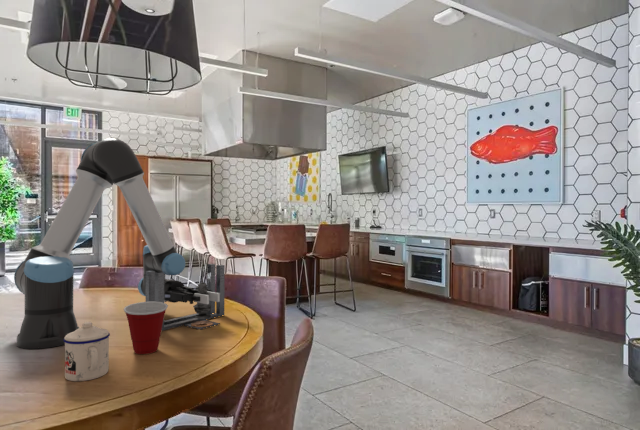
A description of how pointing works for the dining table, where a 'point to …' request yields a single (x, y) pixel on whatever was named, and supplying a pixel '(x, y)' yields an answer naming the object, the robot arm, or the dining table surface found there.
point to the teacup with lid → (86, 353)
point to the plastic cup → (145, 325)
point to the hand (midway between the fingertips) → (213, 298)
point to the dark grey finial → (201, 307)
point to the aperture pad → (201, 324)
